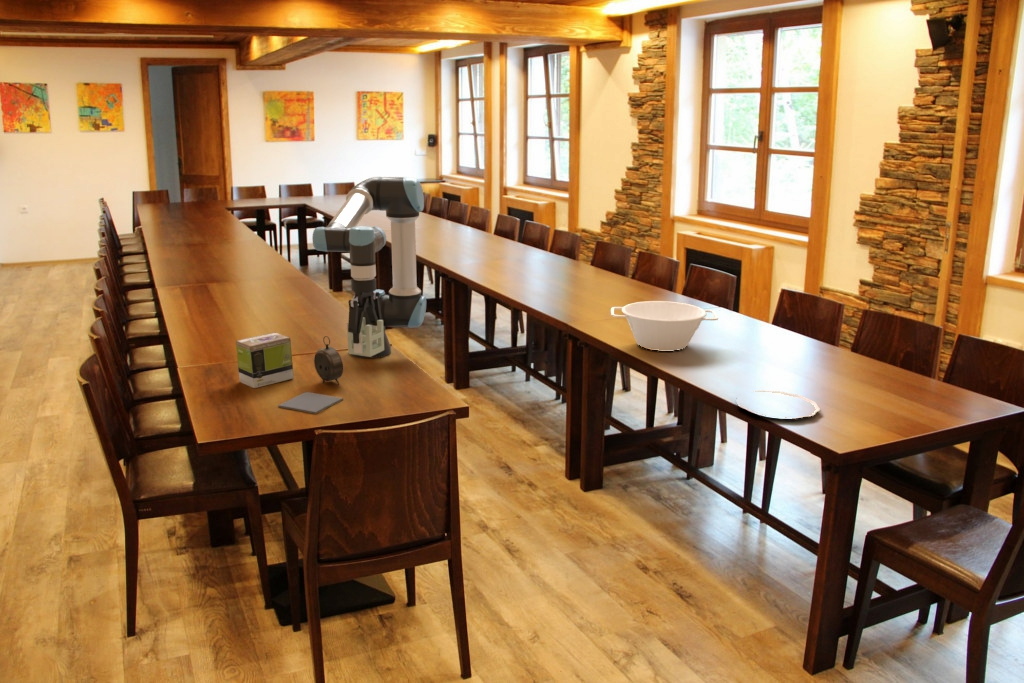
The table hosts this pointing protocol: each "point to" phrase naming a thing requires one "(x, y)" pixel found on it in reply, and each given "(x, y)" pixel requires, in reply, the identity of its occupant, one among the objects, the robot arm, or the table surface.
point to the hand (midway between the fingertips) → (366, 349)
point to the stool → (368, 339)
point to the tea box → (264, 359)
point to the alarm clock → (328, 363)
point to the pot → (663, 323)
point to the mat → (310, 402)
